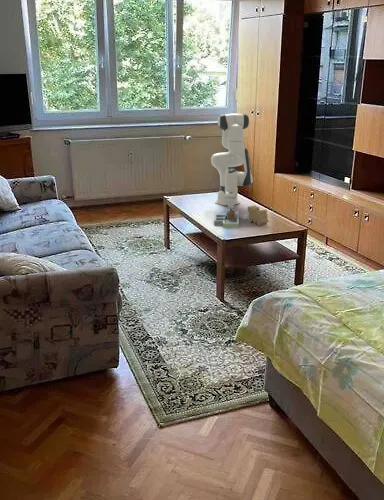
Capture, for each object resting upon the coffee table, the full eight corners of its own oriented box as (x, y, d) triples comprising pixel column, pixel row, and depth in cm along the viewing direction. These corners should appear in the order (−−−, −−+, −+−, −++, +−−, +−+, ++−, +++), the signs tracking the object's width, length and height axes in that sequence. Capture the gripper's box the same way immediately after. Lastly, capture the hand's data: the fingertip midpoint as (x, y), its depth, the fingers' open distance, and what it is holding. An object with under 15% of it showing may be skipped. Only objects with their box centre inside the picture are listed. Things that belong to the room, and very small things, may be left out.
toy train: (261, 226, 343) (262, 212, 340) (247, 220, 357) (247, 206, 354) (268, 225, 345) (269, 211, 342) (253, 219, 360) (254, 205, 356)
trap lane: (215, 216, 367) (215, 212, 366) (238, 216, 365) (238, 212, 364) (213, 227, 343) (213, 223, 342) (238, 227, 342) (238, 223, 341)
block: (227, 217, 365) (227, 210, 363) (234, 217, 364) (234, 210, 363) (227, 219, 360) (227, 212, 358) (234, 219, 360) (234, 212, 358)
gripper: (226, 189, 372) (226, 207, 377) (226, 196, 353) (226, 215, 358) (235, 189, 372) (235, 207, 376) (235, 196, 352) (235, 215, 357)
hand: (231, 211), depth 367 cm, fingers closed
